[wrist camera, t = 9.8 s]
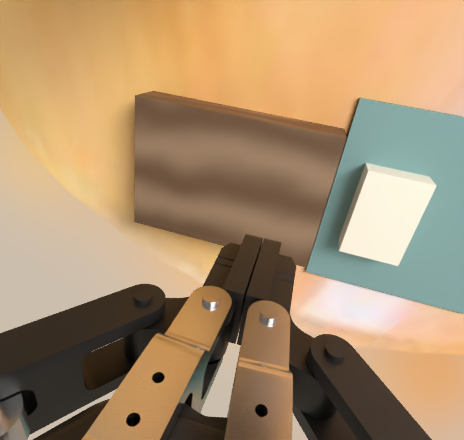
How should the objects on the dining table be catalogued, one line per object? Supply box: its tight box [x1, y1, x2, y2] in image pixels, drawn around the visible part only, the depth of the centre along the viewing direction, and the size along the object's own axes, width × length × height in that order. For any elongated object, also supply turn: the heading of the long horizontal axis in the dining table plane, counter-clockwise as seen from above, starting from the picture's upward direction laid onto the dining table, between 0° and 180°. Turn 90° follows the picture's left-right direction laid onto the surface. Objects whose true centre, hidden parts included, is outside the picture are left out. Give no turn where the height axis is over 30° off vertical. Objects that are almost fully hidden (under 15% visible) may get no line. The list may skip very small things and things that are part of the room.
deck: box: [135, 91, 346, 267], centre depth 36 cm, size 14×20×4 cm
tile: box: [338, 163, 437, 266], centre depth 34 cm, size 9×6×2 cm, turn 171°
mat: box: [306, 98, 464, 314], centre depth 34 cm, size 20×18×1 cm
